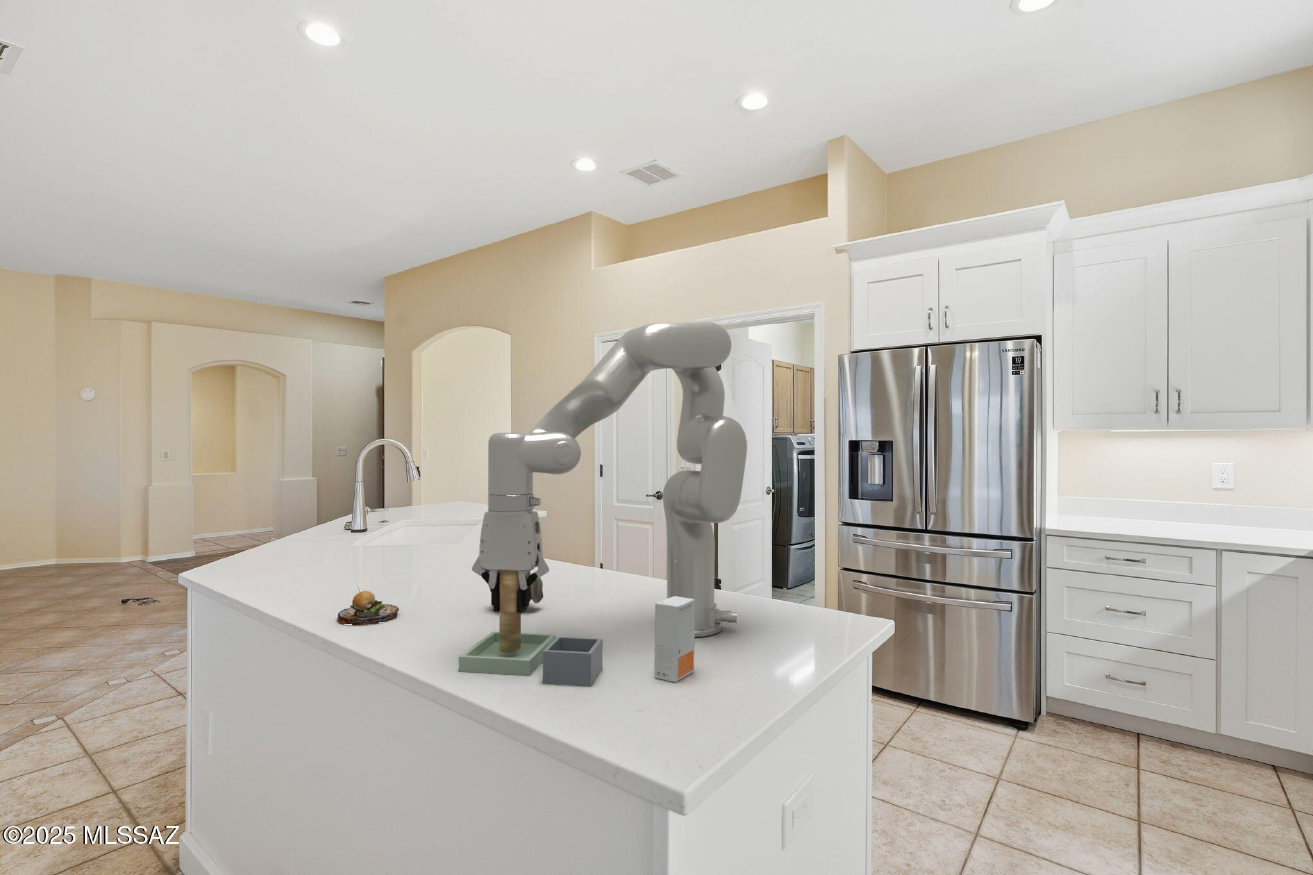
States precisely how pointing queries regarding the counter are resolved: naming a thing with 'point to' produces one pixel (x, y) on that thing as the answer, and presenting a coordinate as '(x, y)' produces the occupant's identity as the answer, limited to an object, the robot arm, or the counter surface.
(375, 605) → the plate of food
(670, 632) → the skincare box
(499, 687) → the counter surface
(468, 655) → the tray
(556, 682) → the open box
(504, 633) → the dowel
